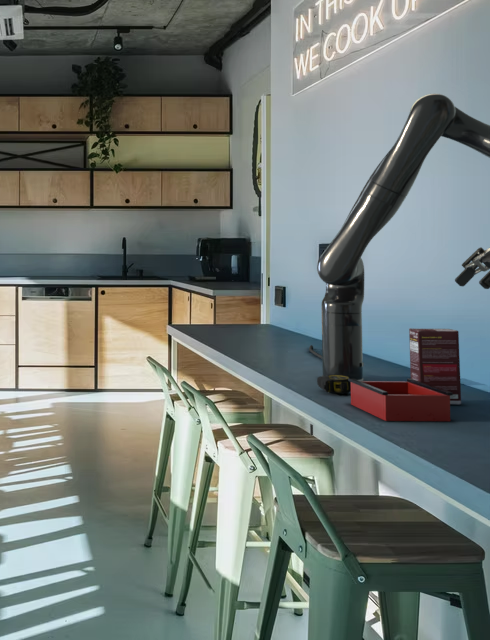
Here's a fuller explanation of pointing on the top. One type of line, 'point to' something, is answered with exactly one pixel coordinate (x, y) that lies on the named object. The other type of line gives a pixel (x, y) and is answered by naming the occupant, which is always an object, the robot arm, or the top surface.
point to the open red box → (401, 400)
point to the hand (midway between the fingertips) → (470, 285)
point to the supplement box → (436, 359)
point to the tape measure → (334, 383)
